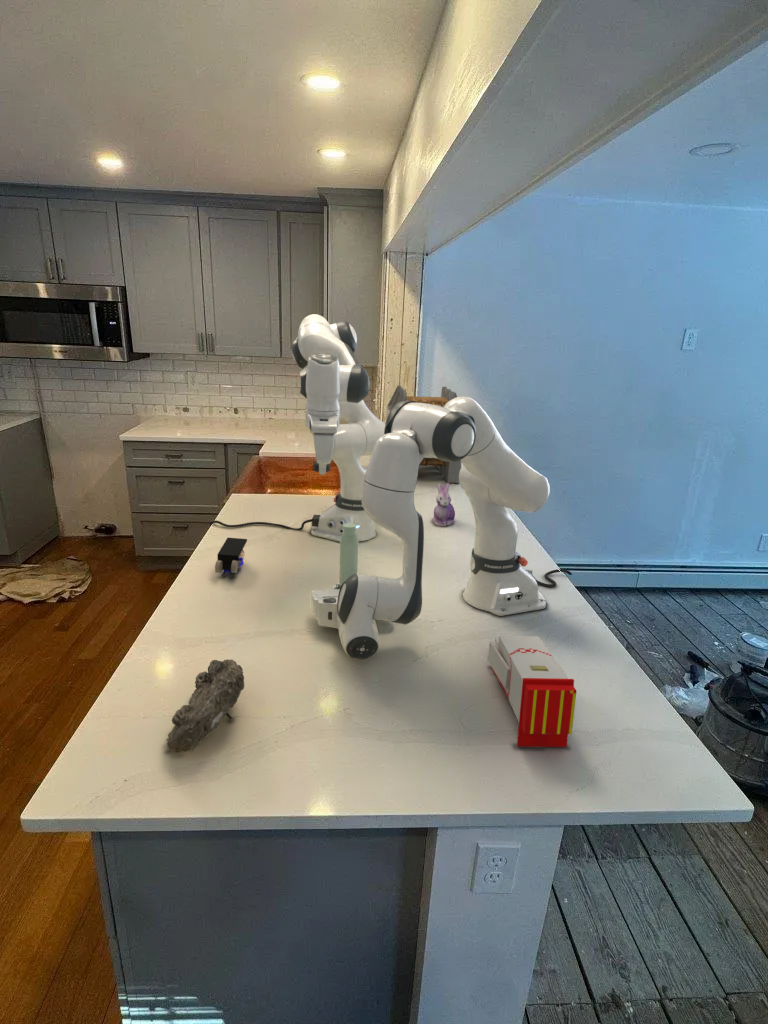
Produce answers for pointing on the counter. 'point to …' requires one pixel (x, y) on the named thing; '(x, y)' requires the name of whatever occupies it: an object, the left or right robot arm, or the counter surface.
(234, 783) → the counter surface
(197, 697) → the fossil
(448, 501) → the figurine
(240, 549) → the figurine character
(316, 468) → the cap
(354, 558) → the bottle
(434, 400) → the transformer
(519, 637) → the toy
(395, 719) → the counter surface
